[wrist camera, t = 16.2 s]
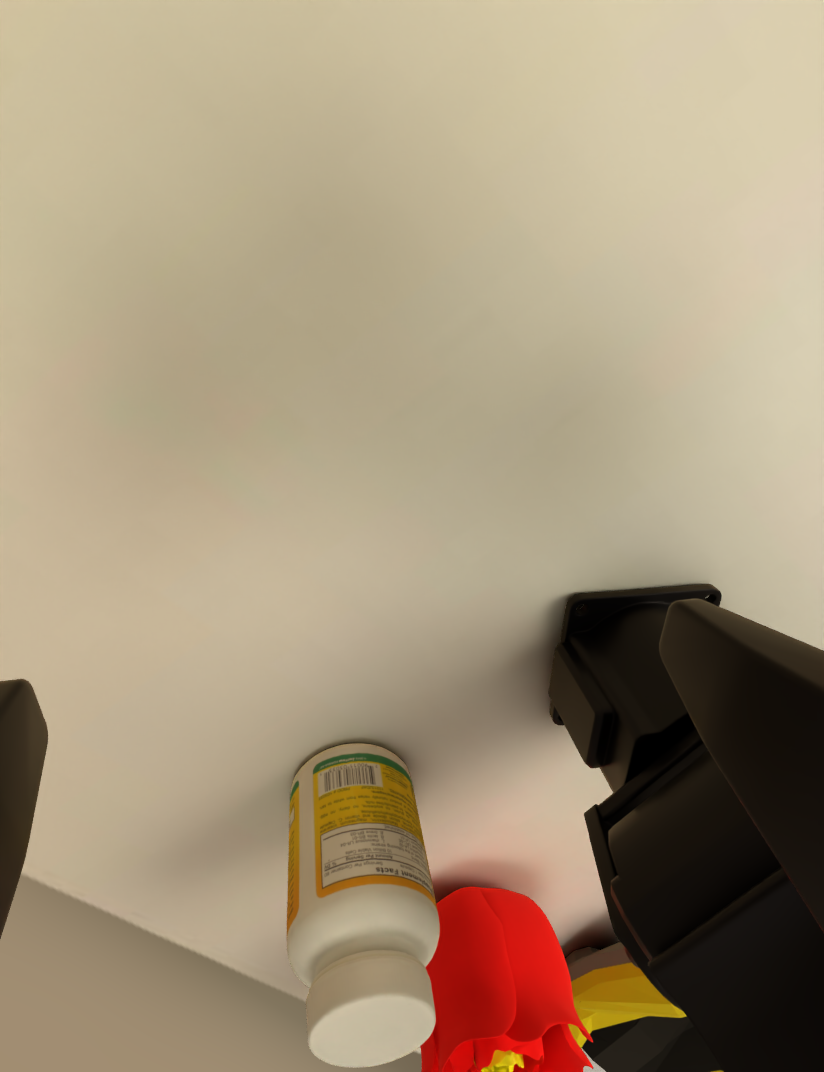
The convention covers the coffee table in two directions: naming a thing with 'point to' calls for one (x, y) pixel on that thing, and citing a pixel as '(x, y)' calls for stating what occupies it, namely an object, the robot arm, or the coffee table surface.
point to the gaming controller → (631, 1018)
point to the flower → (500, 989)
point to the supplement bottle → (360, 906)
